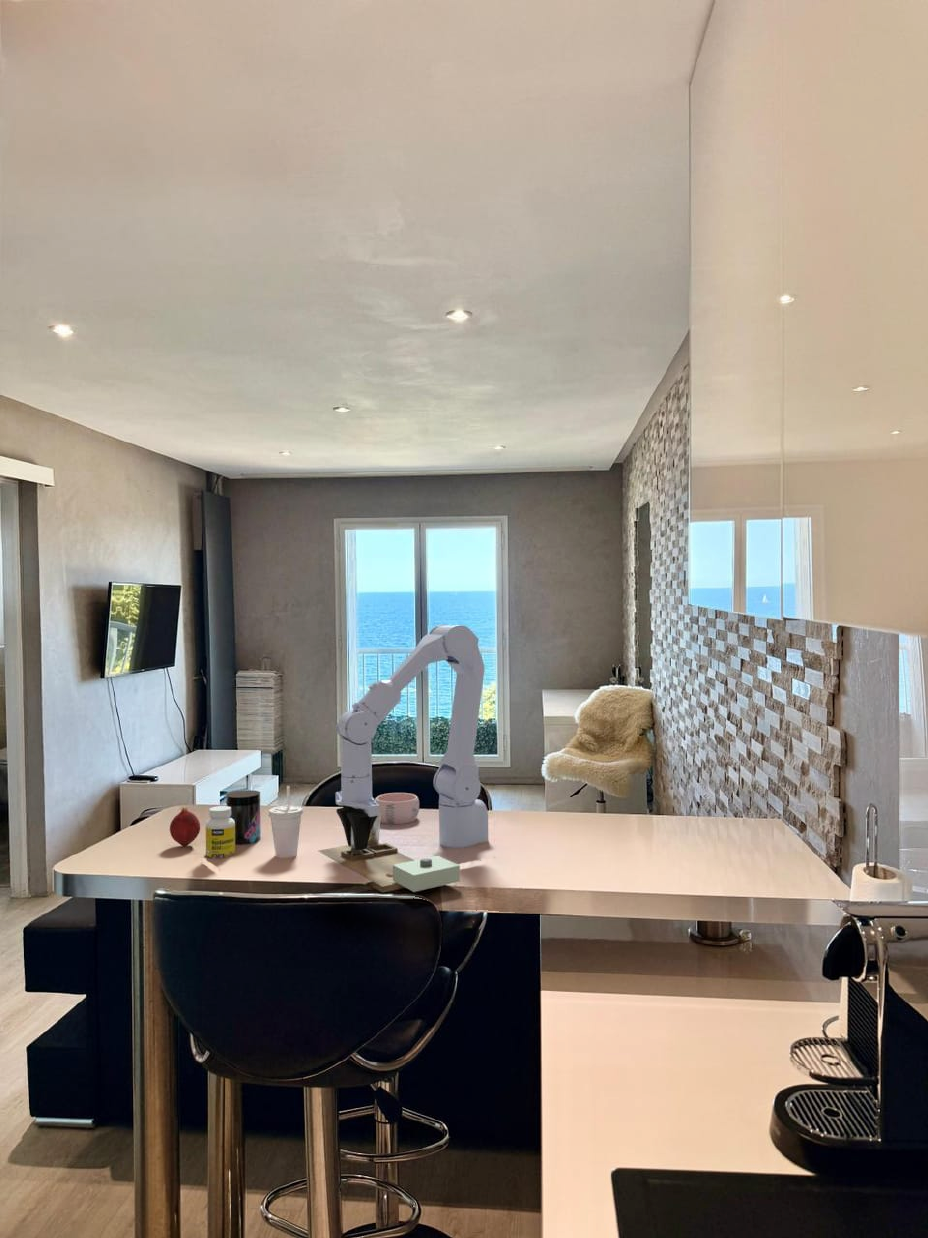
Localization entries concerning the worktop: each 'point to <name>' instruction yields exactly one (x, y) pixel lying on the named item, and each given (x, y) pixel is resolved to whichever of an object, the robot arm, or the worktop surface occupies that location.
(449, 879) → the cover
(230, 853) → the supplement bottle
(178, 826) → the onion
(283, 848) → the smoothie
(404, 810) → the pink bowl
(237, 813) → the supplement container
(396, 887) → the board
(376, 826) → the pin
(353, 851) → the pin
